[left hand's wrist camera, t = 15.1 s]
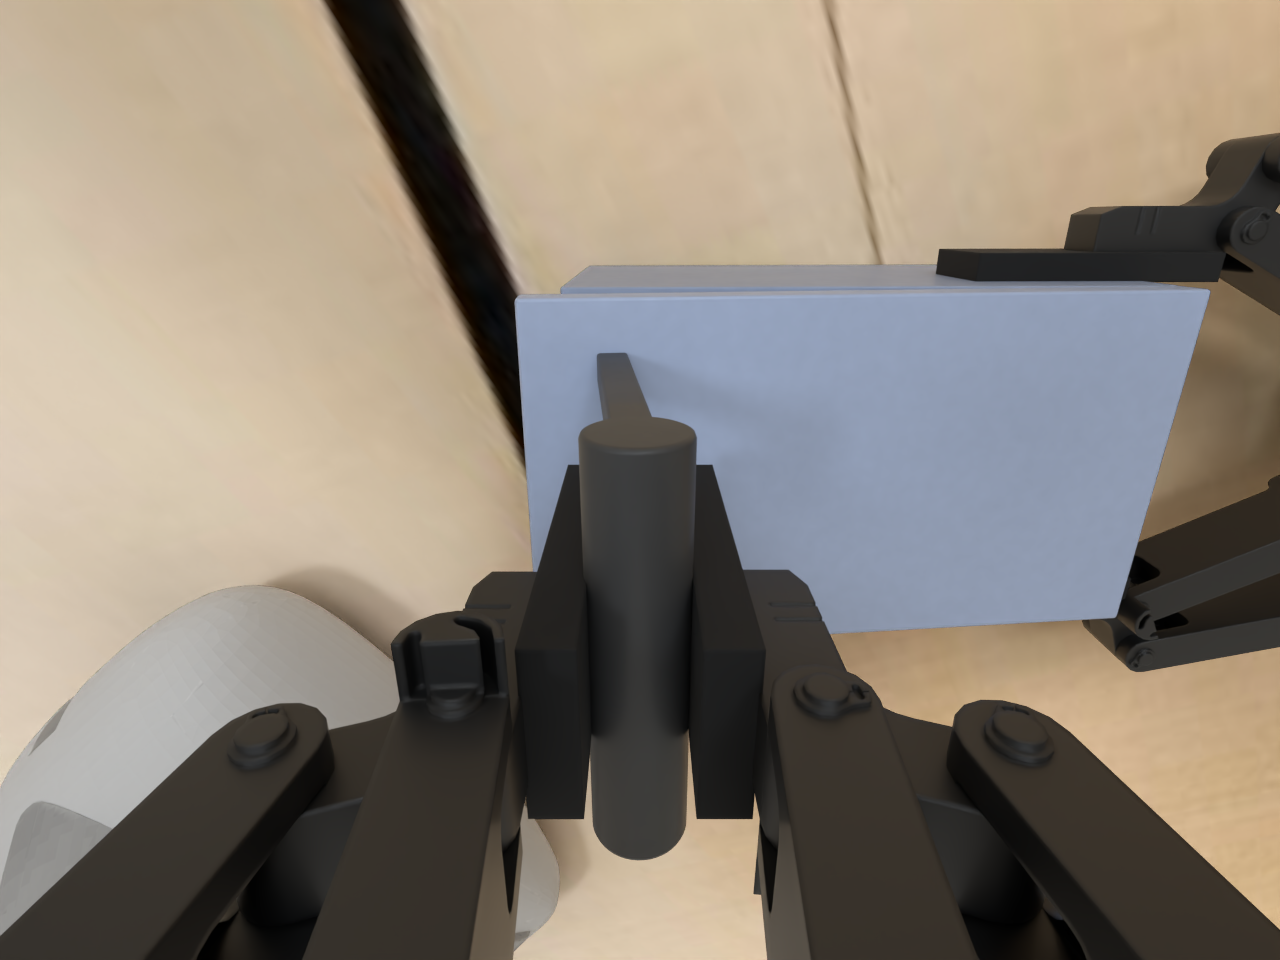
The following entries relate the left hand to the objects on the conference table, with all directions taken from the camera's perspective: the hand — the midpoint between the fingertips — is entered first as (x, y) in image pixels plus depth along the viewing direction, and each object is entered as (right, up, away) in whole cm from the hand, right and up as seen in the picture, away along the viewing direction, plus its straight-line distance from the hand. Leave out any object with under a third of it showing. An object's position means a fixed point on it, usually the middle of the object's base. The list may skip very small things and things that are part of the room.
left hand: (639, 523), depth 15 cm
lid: (+5, +1, +3) cm, 6 cm away
